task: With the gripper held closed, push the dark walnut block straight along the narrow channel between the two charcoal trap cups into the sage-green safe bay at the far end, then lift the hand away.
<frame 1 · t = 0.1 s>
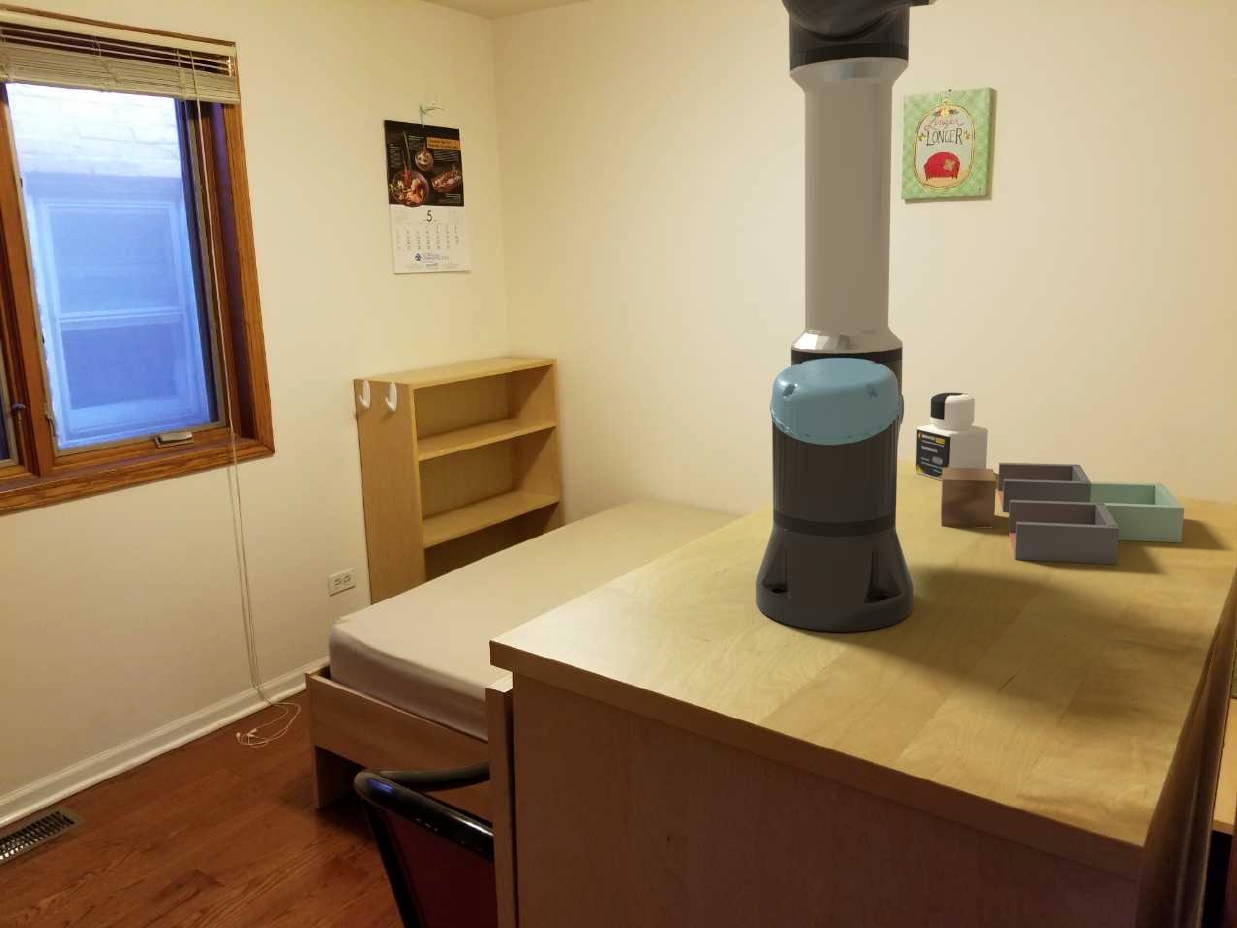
walnut block: (966, 520, 121), on the table
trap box: (1049, 523, 118), on the table
medicine bottle: (950, 476, 142), on the table
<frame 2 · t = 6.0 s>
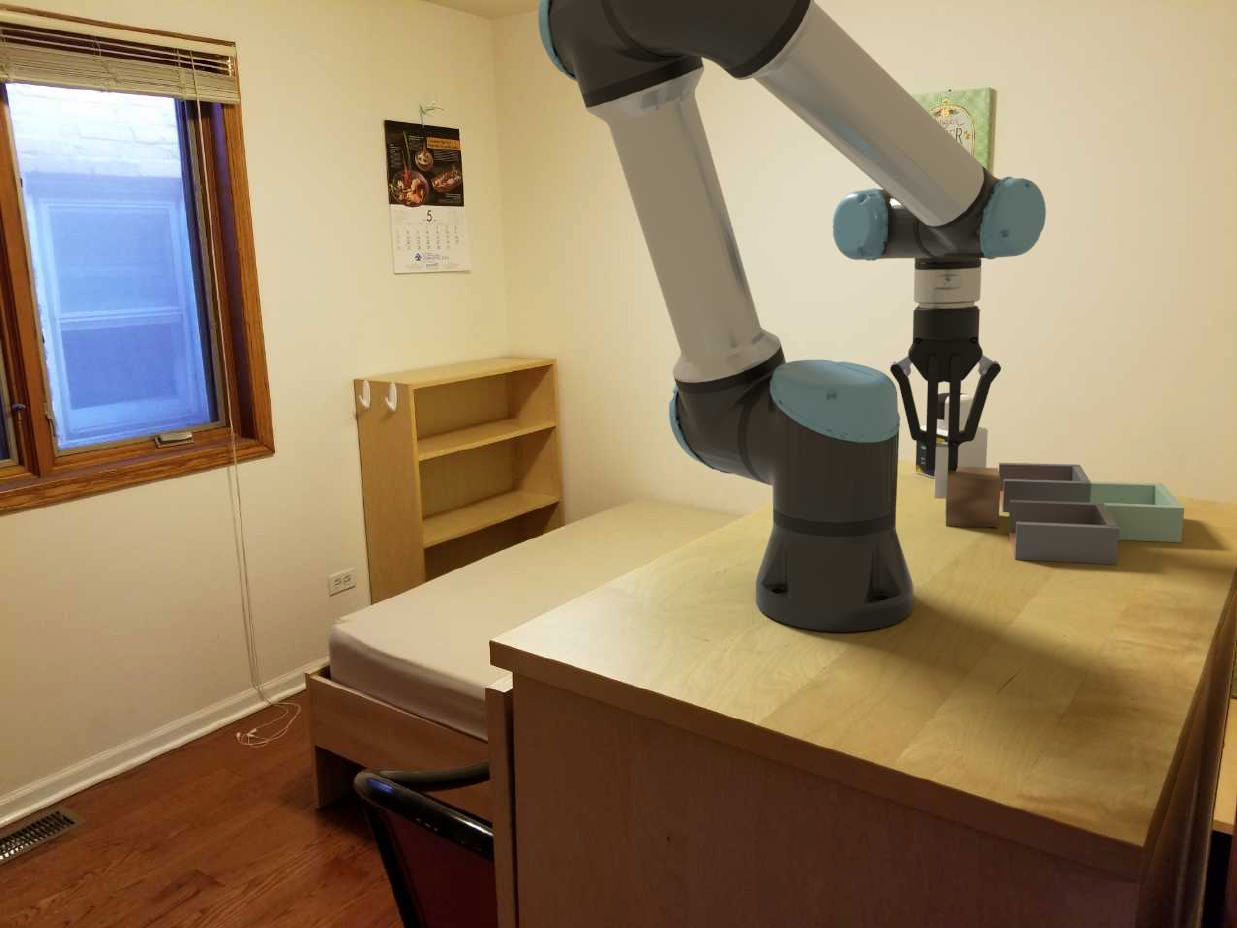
hand: (940, 495, 121), 3 cm above the table, fingers closed
walnut block: (971, 519, 120), on the table, touching gripper
everything else where it was.
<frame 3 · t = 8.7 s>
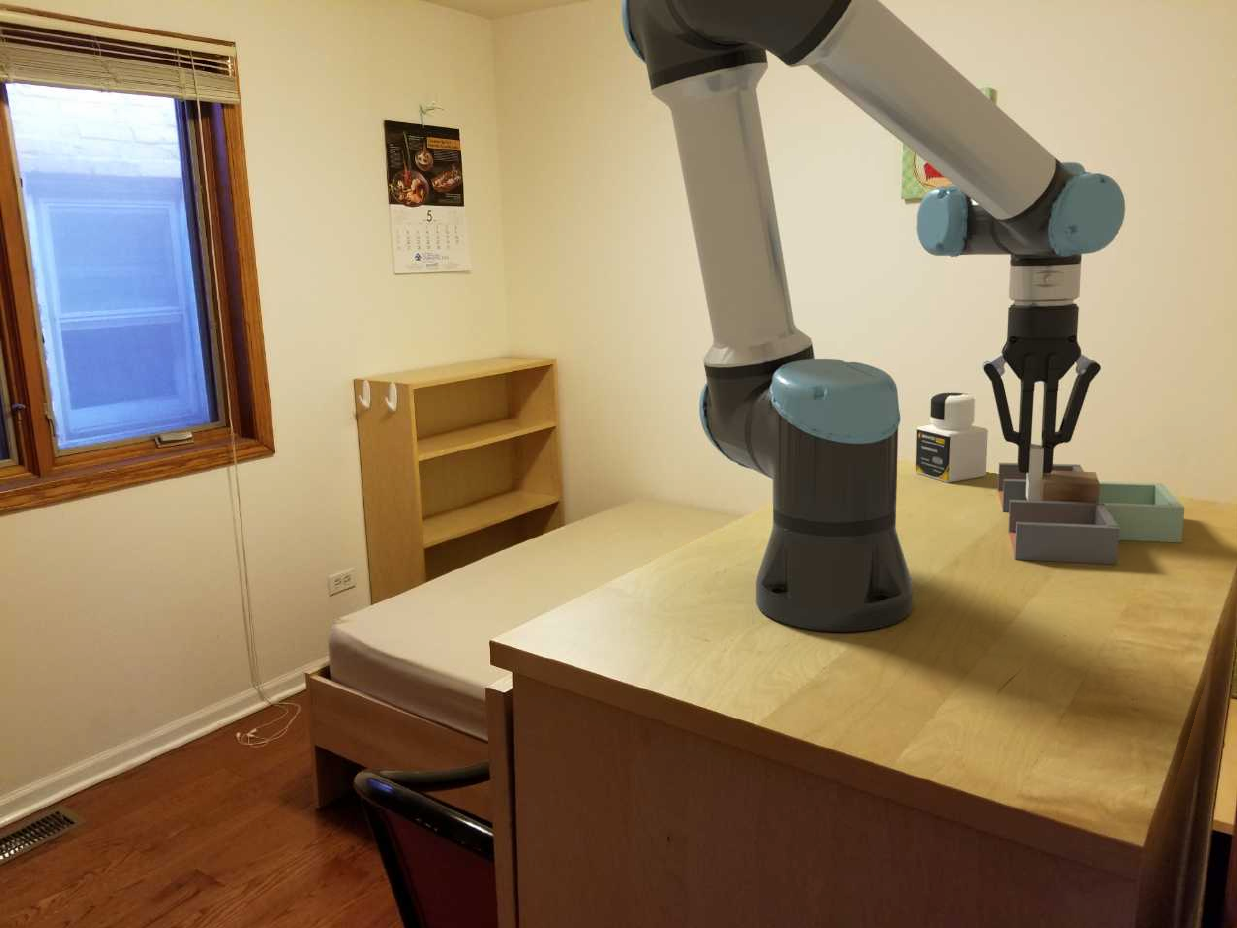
hand: (1033, 498, 118), 3 cm above the table, fingers closed
walnut block: (1066, 525, 117), resting in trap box
everything else where it was.
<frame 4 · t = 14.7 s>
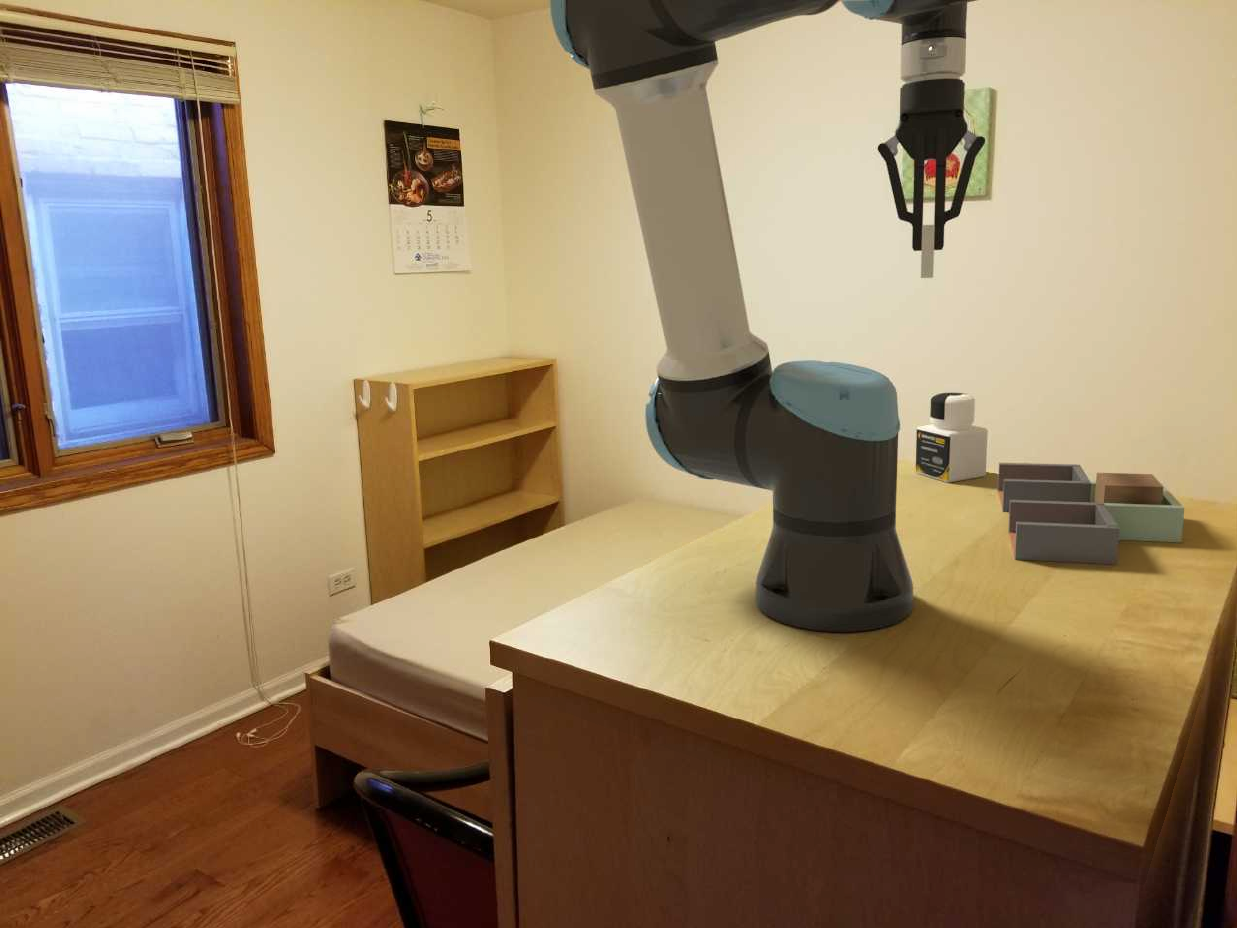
hand: (927, 277, 124), 29 cm above the table, fingers closed
walnut block: (1125, 528, 115), resting in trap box
everything else where it was.
at the end: walnut block inside the target area (0.7 cm from its centre), resting in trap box; walnut block tilted 0° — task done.
